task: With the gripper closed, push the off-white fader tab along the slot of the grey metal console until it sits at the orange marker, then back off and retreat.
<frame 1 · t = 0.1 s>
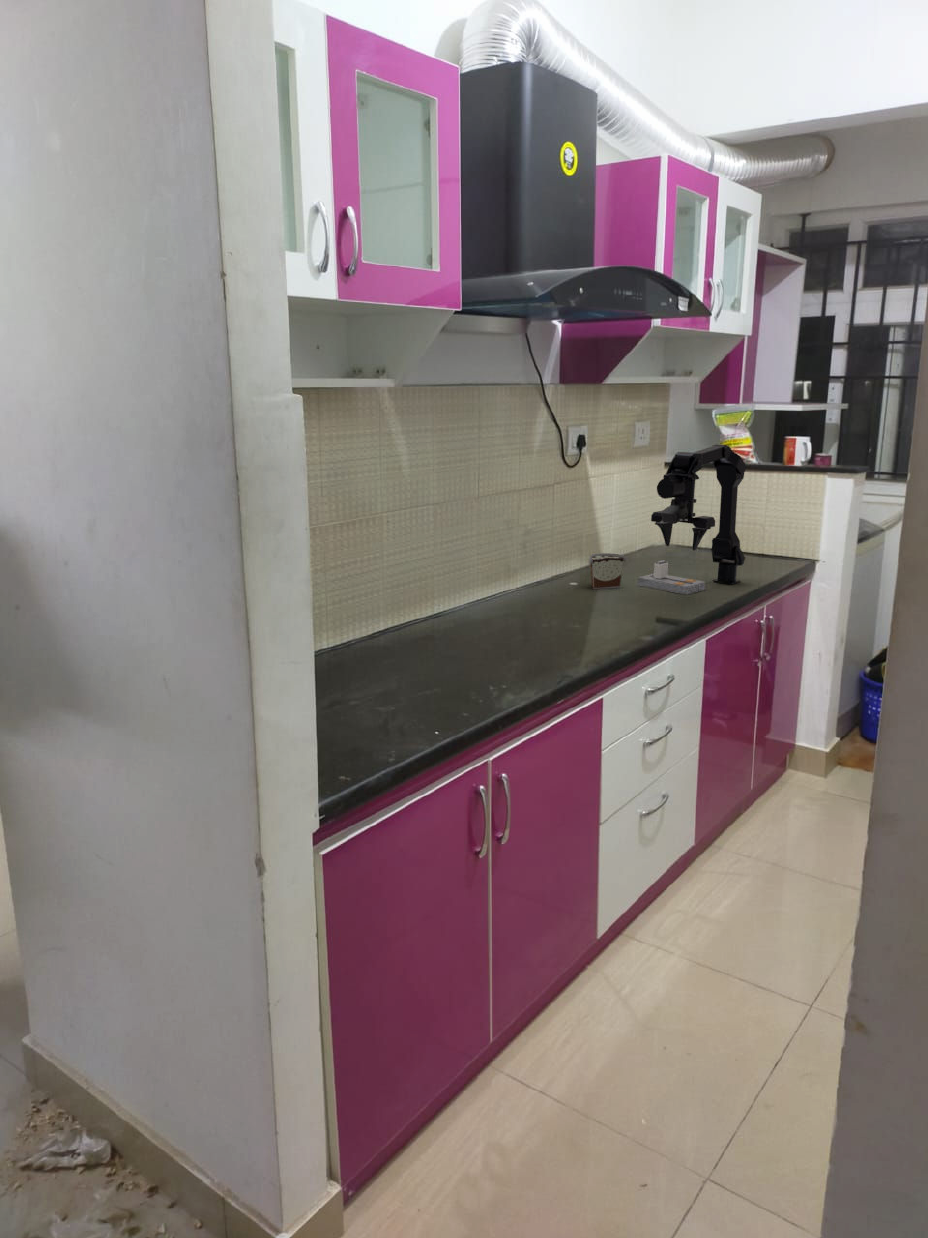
hand: (680, 548, 273), 15 cm above the worktop, fingers open, 9 cm apart
console: (670, 587, 288), on the worktop
food container: (602, 586, 290), on the worktop
fader tab: (660, 569, 290), point 5 cm above the worktop, slide at 0.0 cm
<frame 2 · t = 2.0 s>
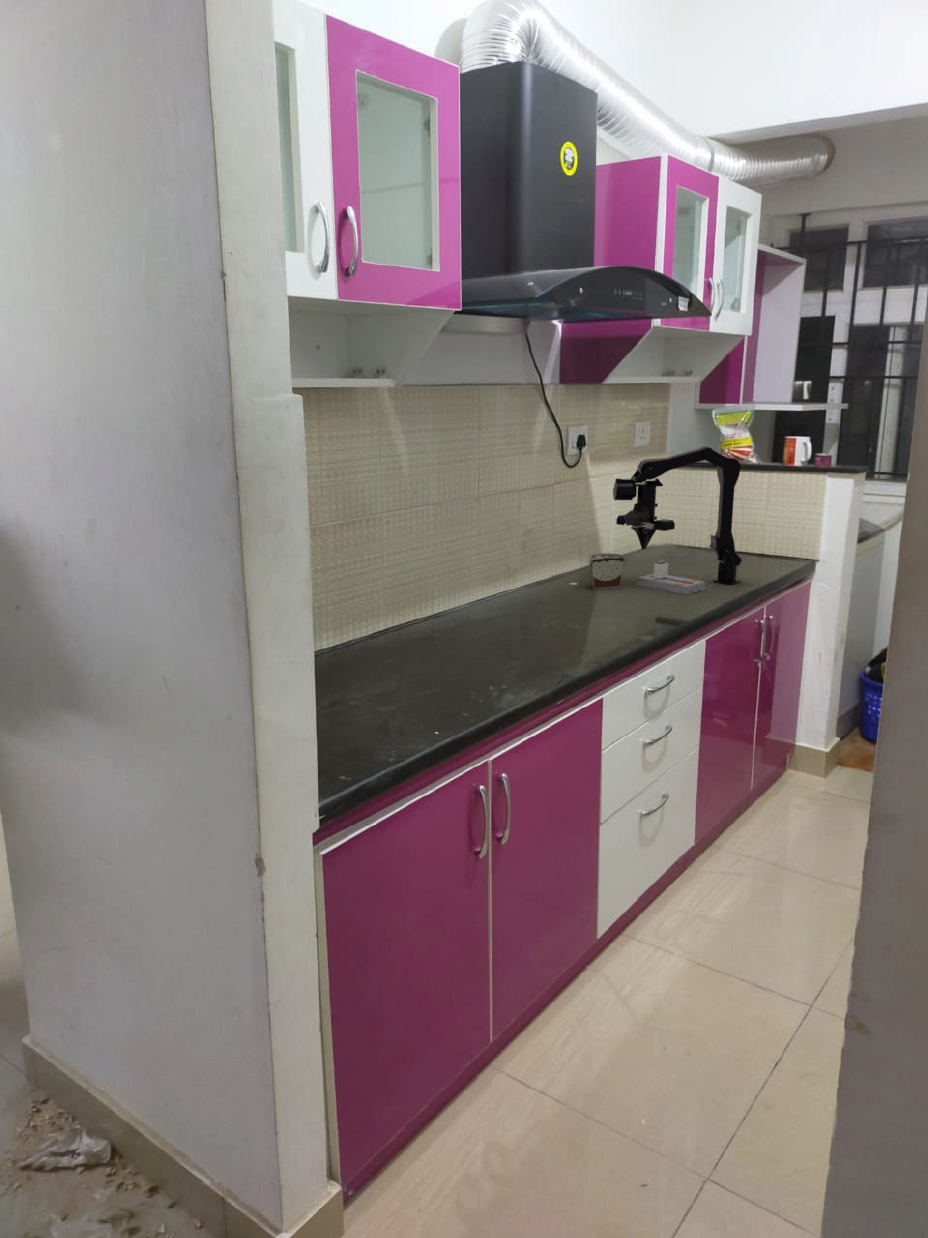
hand: (643, 549, 293), 11 cm above the worktop, fingers closed
nothing on the worktop moved.
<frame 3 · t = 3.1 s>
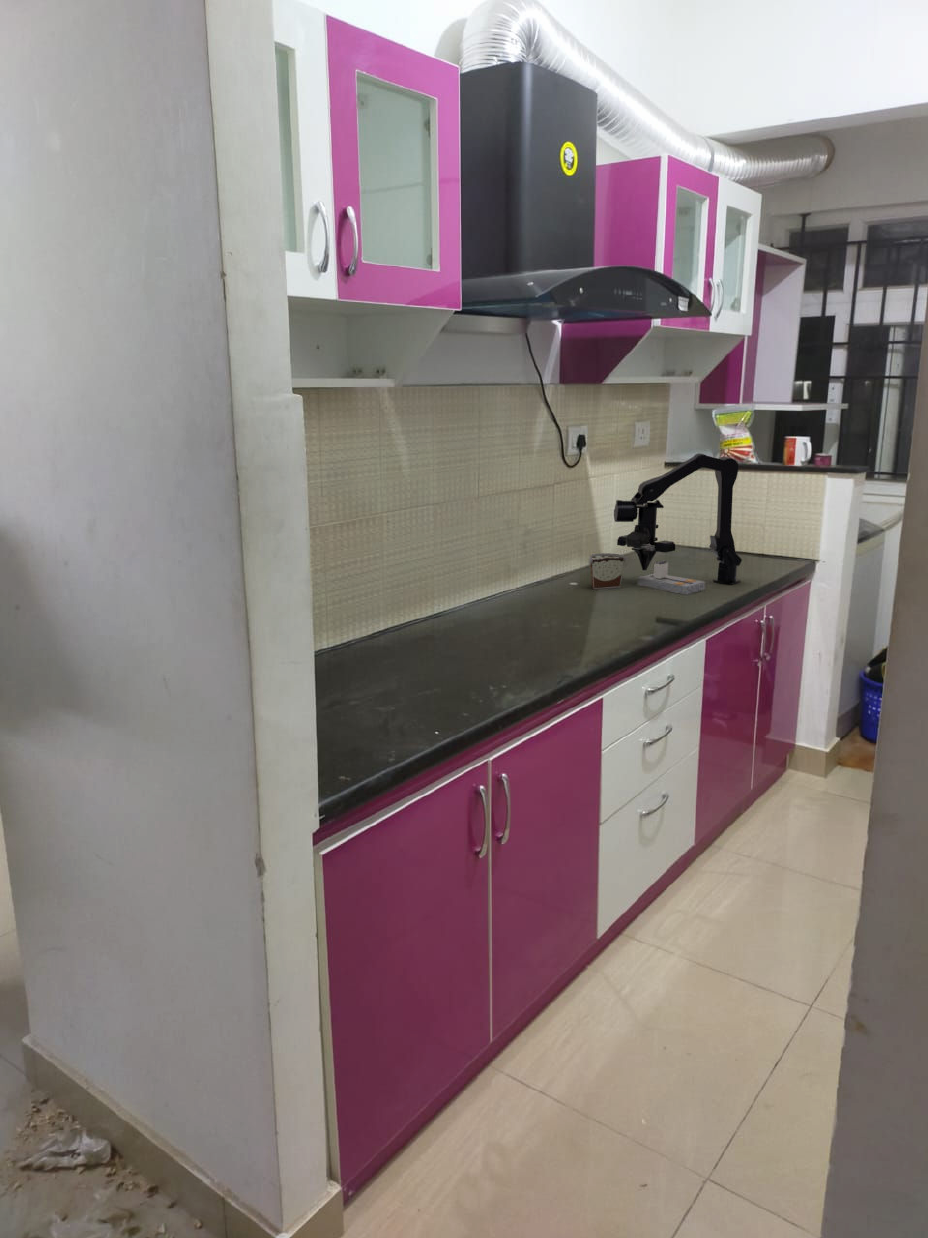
hand: (644, 570, 294), 4 cm above the worktop, fingers closed
nothing on the worktop moved.
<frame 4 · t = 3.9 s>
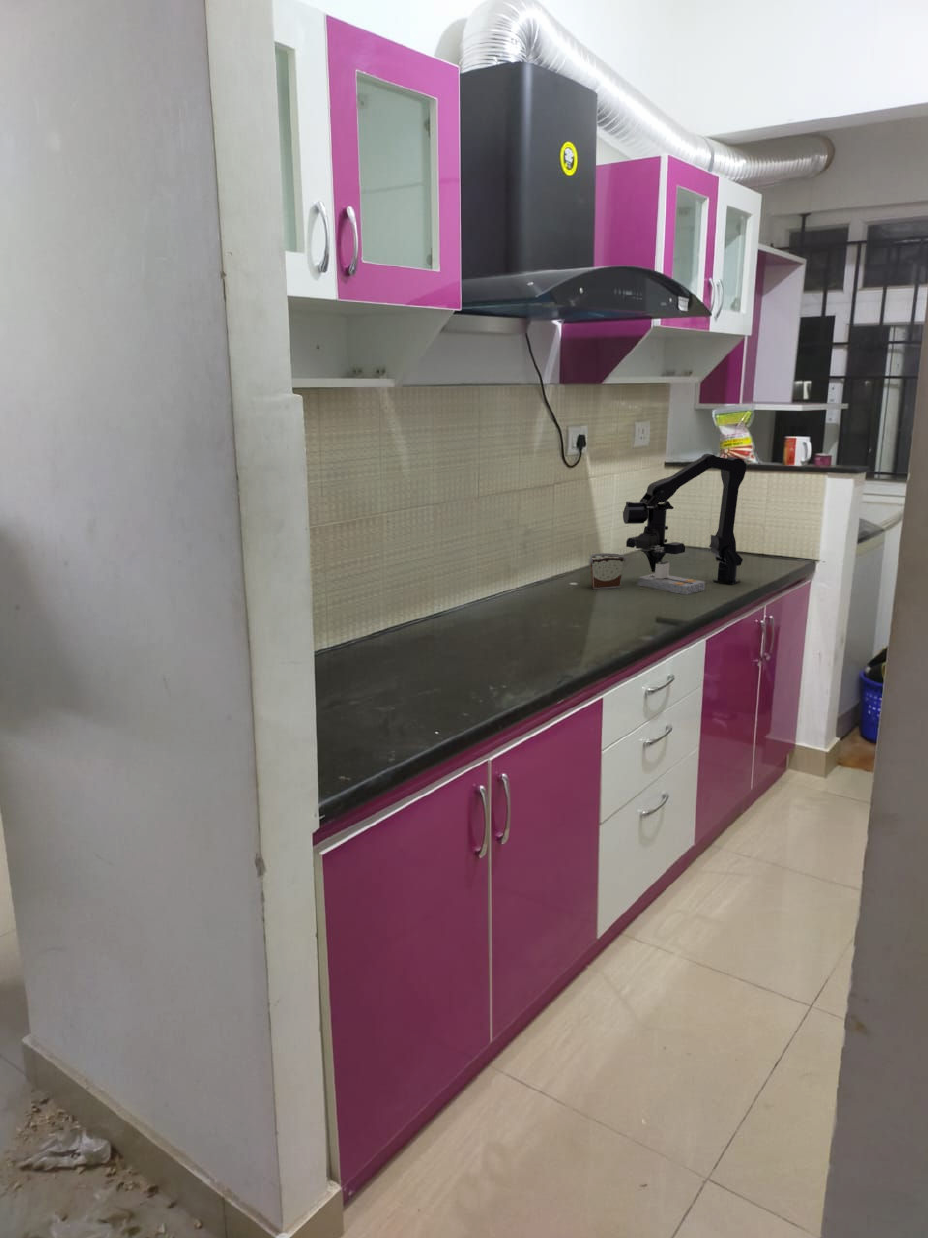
hand: (653, 571, 292), 4 cm above the worktop, fingers closed
fader tab: (662, 569, 289), point 5 cm above the worktop, slide at 0.5 cm, touching gripper
everything else where it was.
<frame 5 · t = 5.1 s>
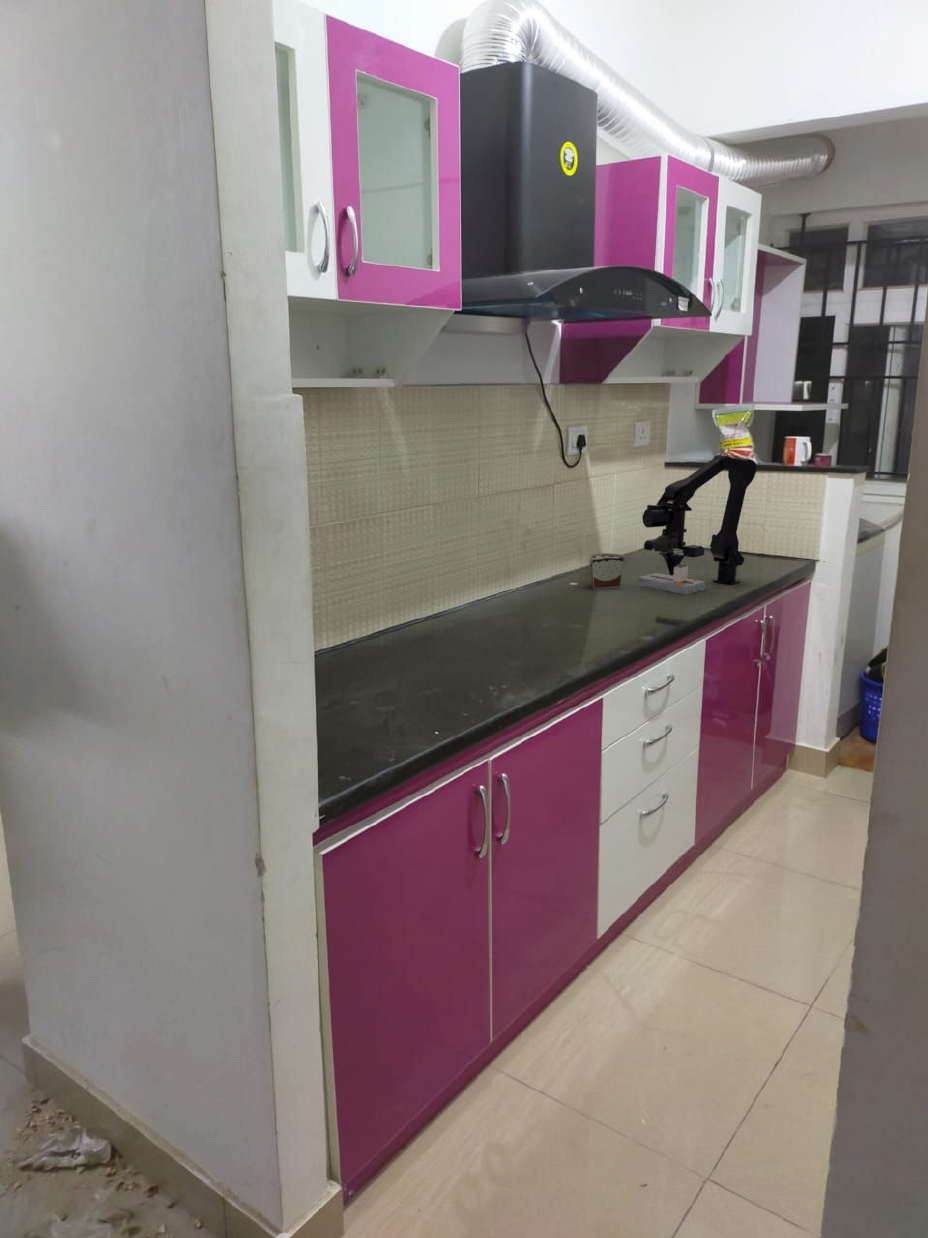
hand: (671, 575, 287), 4 cm above the worktop, fingers closed
fader tab: (680, 572, 285), point 5 cm above the worktop, slide at 7.2 cm, touching gripper
everything else where it was.
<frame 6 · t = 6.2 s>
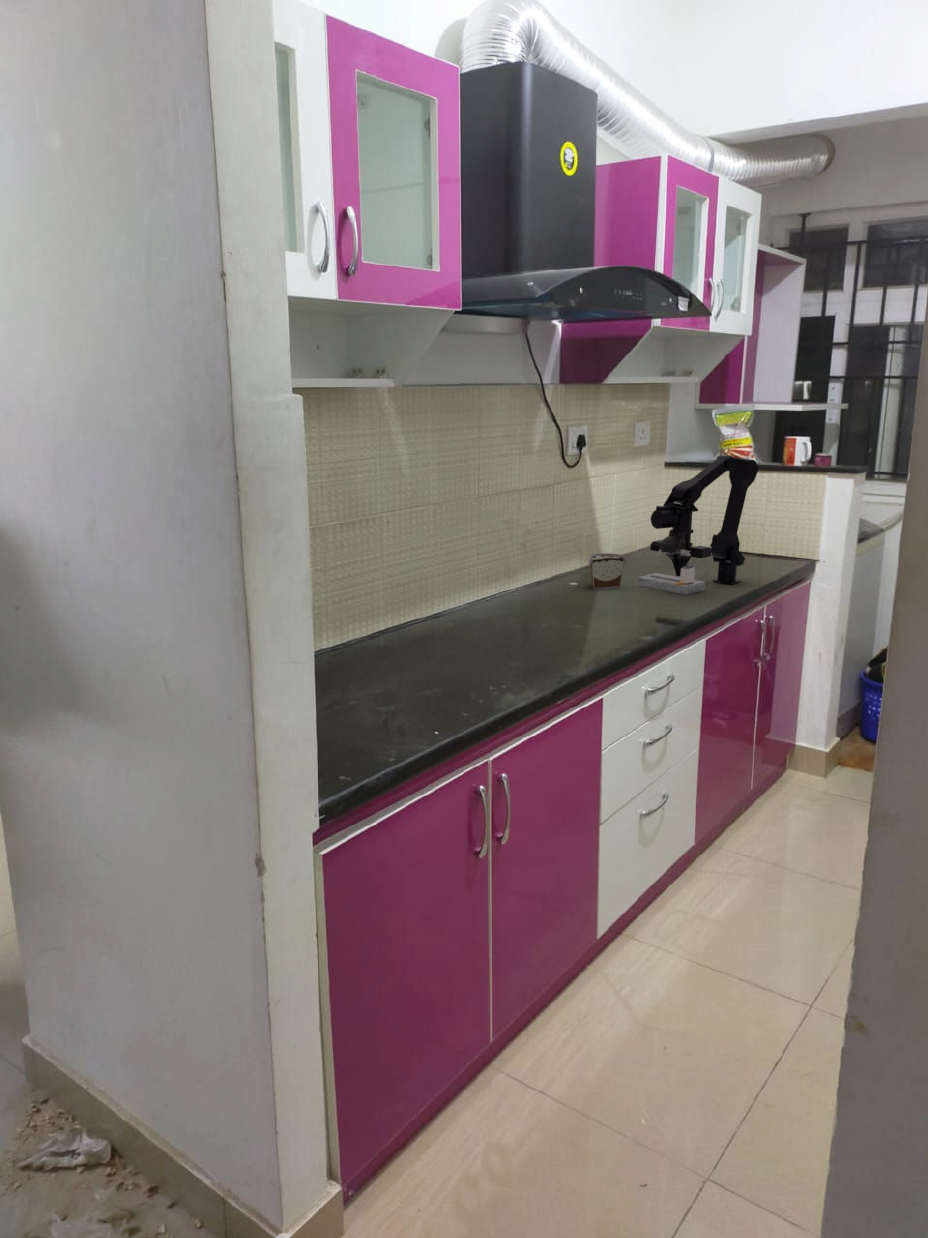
hand: (678, 576, 285), 4 cm above the worktop, fingers closed
fader tab: (687, 573, 283), point 5 cm above the worktop, slide at 9.7 cm, touching gripper
everything else where it was.
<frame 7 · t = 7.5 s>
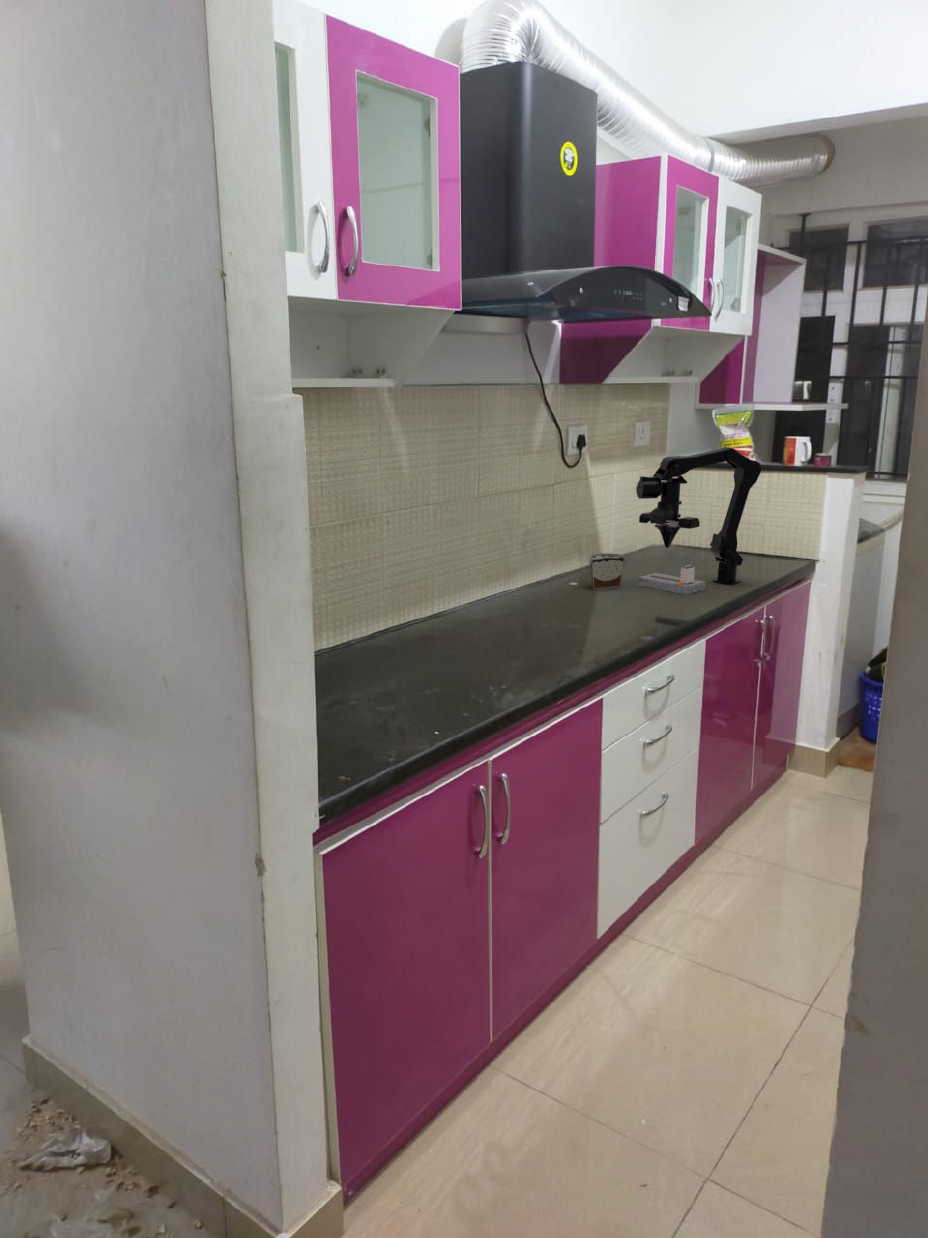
hand: (667, 547, 290), 12 cm above the worktop, fingers closed
fader tab: (687, 573, 283), point 5 cm above the worktop, slide at 9.7 cm
everything else where it was.
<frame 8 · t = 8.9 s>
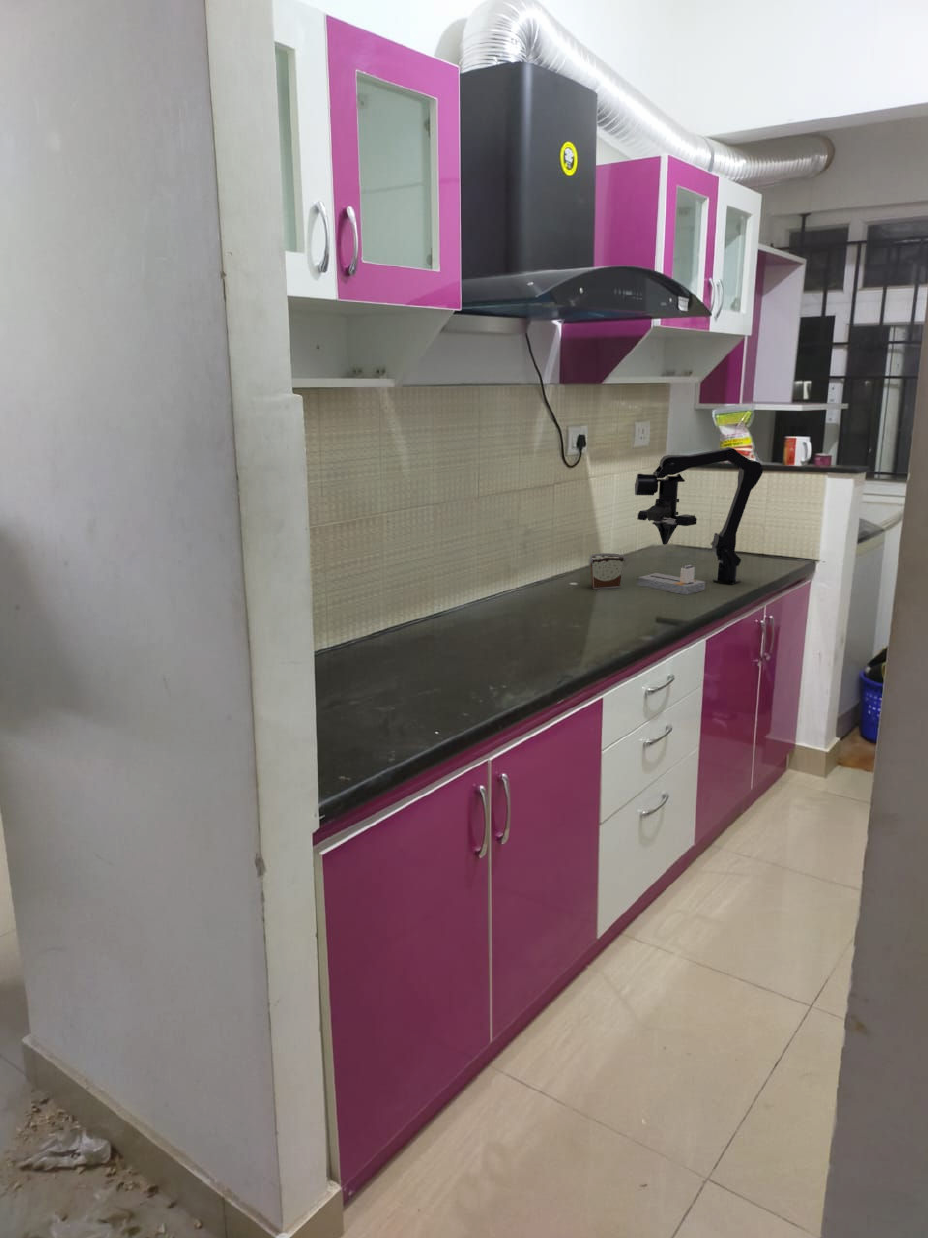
hand: (664, 544, 294), 12 cm above the worktop, fingers closed
nothing on the worktop moved.
at the end: fader tab slide at 9.7 cm; fader tab touching nothing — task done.
